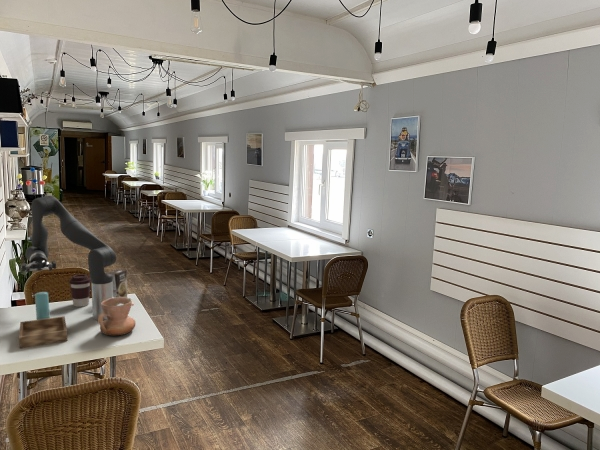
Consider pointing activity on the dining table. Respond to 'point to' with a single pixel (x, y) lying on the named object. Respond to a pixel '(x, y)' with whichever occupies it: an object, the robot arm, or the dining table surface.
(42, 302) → the teal canister
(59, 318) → the walnut crate
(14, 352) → the dining table surface
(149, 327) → the dining table surface
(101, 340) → the dining table surface
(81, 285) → the coffee cup
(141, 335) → the dining table surface
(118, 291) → the coffee box
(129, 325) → the ceramic jug
